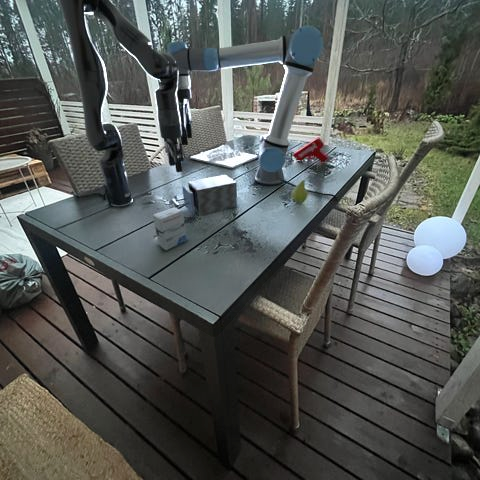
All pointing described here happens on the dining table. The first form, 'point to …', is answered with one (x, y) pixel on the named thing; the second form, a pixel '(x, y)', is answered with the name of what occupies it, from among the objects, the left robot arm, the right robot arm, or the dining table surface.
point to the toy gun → (311, 151)
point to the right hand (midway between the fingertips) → (187, 141)
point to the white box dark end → (215, 194)
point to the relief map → (225, 156)
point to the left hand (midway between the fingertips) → (175, 168)
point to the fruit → (300, 192)
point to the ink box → (170, 228)
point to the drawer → (188, 199)
